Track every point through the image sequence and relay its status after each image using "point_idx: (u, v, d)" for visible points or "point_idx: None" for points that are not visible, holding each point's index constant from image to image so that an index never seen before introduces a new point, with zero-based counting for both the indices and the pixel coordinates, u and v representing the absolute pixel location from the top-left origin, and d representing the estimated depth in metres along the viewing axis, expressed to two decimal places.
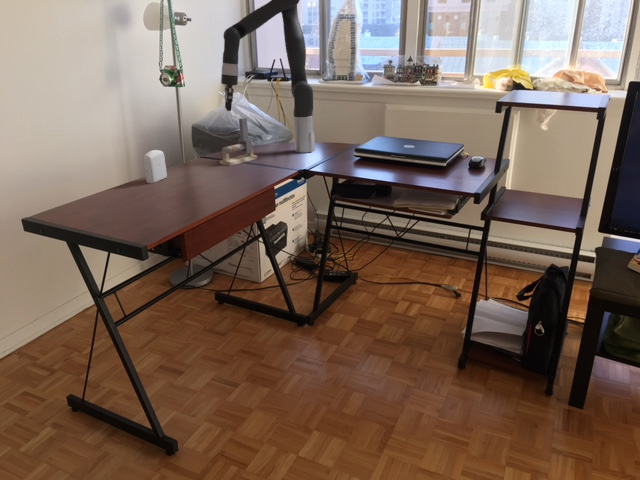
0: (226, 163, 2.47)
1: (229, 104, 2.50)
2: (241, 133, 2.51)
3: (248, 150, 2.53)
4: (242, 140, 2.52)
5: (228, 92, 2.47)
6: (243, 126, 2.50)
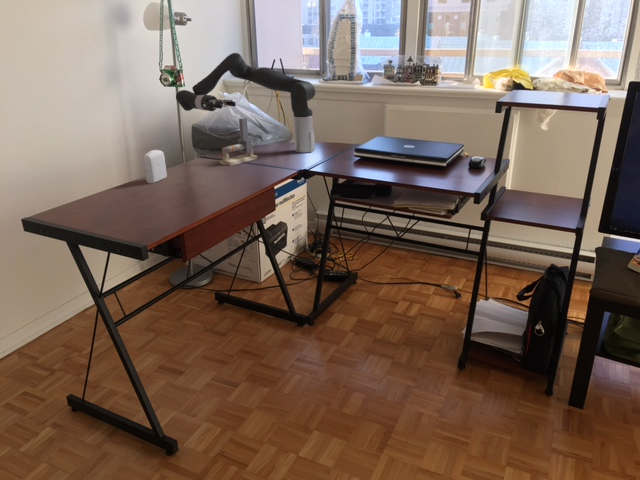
0: (226, 163, 2.47)
1: None
2: (241, 133, 2.51)
3: (248, 150, 2.53)
4: (242, 140, 2.52)
5: (205, 107, 2.58)
6: (243, 126, 2.50)
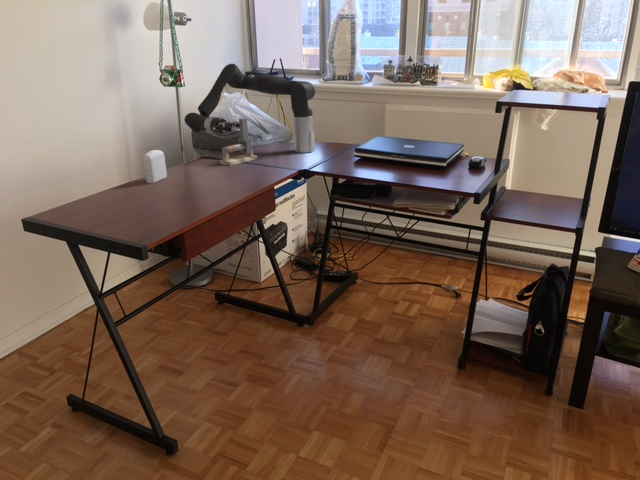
0: (226, 163, 2.47)
1: None
2: (241, 133, 2.51)
3: (248, 150, 2.53)
4: (242, 140, 2.52)
5: (215, 130, 2.55)
6: (243, 126, 2.50)
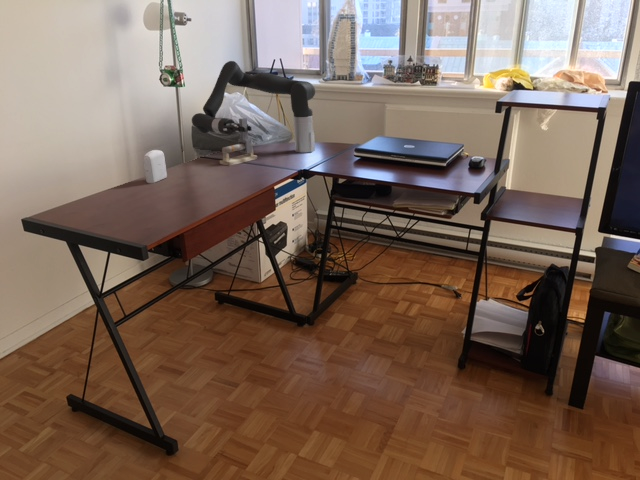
0: (226, 163, 2.47)
1: None
2: (241, 133, 2.51)
3: (248, 150, 2.53)
4: (242, 140, 2.52)
5: (227, 131, 2.51)
6: (243, 126, 2.50)
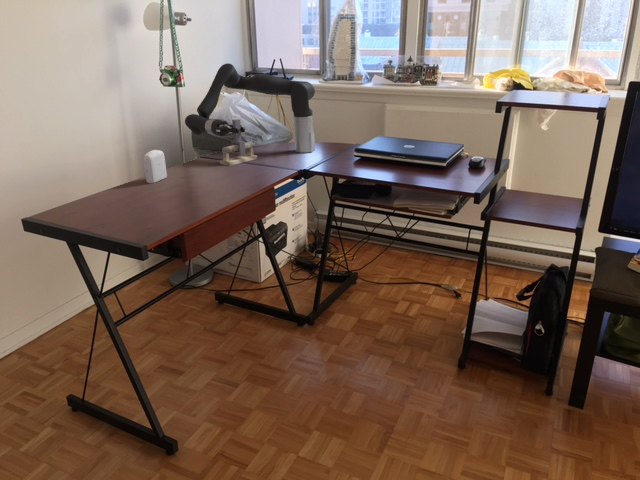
0: (226, 163, 2.47)
1: None
2: (234, 134, 2.49)
3: (241, 152, 2.50)
4: (235, 141, 2.49)
5: (220, 132, 2.48)
6: (236, 127, 2.47)
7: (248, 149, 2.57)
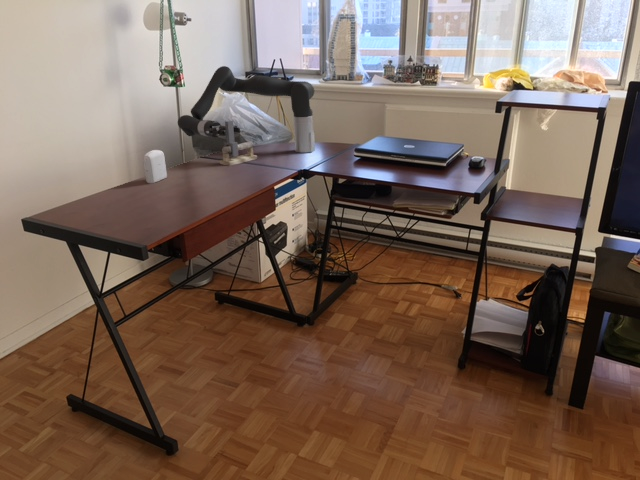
0: (226, 163, 2.47)
1: None
2: (227, 136, 2.45)
3: (234, 153, 2.47)
4: (228, 143, 2.46)
5: (208, 133, 2.45)
6: (229, 129, 2.44)
7: (248, 149, 2.57)
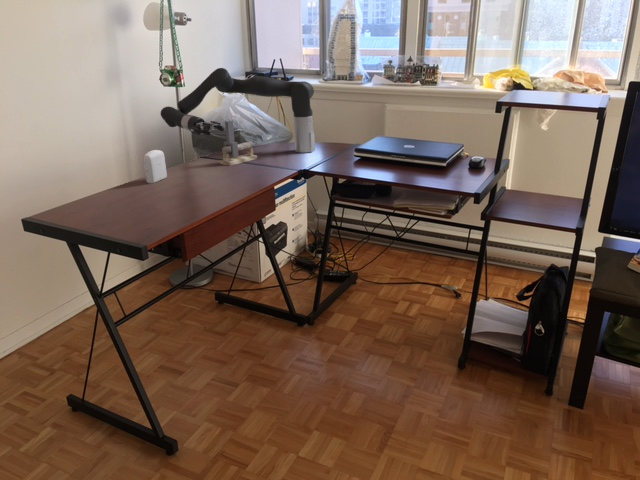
0: (226, 163, 2.47)
1: None
2: (227, 136, 2.45)
3: (234, 153, 2.47)
4: (228, 143, 2.46)
5: (193, 132, 2.52)
6: (229, 129, 2.44)
7: (248, 149, 2.57)
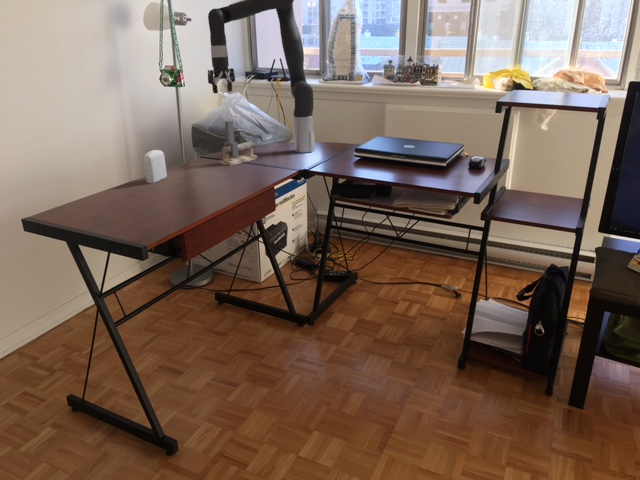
0: (226, 163, 2.47)
1: None
2: (227, 136, 2.45)
3: (234, 153, 2.47)
4: (228, 143, 2.46)
5: (208, 74, 2.48)
6: (229, 129, 2.44)
7: (248, 149, 2.57)
